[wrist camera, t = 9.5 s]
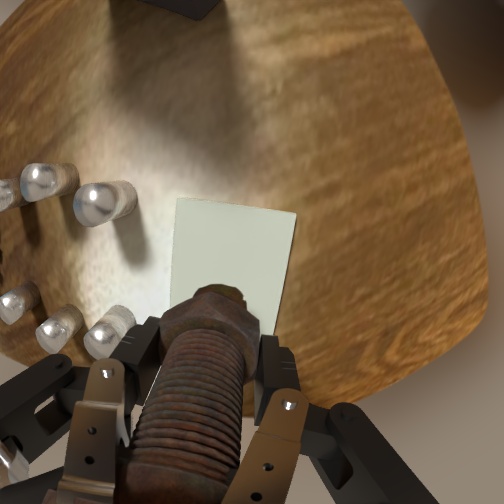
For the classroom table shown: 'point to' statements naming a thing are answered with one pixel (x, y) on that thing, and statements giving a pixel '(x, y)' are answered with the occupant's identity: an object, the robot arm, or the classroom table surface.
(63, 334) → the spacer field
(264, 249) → the plate
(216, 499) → the bolt
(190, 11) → the dark grey slab
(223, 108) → the classroom table surface
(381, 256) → the classroom table surface
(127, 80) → the classroom table surface
